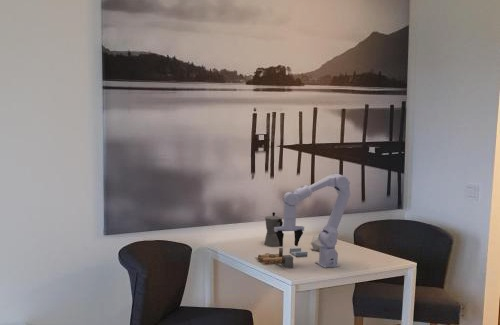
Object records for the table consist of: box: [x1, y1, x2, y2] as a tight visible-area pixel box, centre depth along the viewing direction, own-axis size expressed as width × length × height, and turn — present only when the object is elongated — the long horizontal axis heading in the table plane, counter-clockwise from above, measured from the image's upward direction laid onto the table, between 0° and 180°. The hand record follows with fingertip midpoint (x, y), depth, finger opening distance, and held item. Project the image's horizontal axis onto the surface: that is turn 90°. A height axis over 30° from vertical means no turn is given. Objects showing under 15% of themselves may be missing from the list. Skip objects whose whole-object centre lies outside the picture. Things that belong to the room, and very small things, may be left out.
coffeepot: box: [264, 212, 284, 248], centre depth 310 cm, size 15×9×18 cm, turn 29°
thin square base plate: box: [254, 256, 282, 266], centre depth 278 cm, size 14×13×1 cm
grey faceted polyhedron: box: [310, 234, 320, 252], centre depth 303 cm, size 8×9×10 cm
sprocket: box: [257, 247, 284, 264], centre depth 278 cm, size 14×14×6 cm
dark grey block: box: [281, 254, 294, 269], centre depth 269 cm, size 4×4×5 cm
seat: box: [289, 247, 309, 258], centre depth 292 cm, size 9×6×2 cm, turn 19°
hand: (288, 246), depth 270 cm, fingers open, 7 cm apart
